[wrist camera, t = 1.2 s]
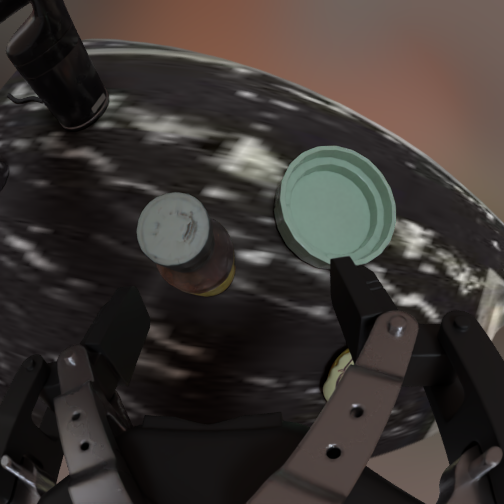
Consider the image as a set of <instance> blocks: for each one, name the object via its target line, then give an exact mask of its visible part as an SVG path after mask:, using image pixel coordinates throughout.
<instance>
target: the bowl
mask: <svg viewBox="0 0 504 504" xmlns="http://www.w3.org/2000/svg"><path fill="white" fill-rule="evenodd" d="M274 213H275V218H276V223H277V228H278V230H279V232H280V234H281V236H282V238H283V240H284V241H285V243H286V245H287V246H288V247H289V248H290V249H291V250H292V251H293V252H294V253H295V254H296V255H297V256H298V257H299V258H300V259H301V260H303V261H305V262H307V263H309V264H311V265H313V266H315V267H317V268H322V269H329V270H330V260H331V259H332V258H338V257H344V256H350V257H351V259H352V260H353V262H354V263H355V265H356V266H358V265H361V264H365V263H367V262H369V261H371V260H372V259H374V258H375V257H377V256H378V255H380V254H381V253H382V251H383V250H384V249H385V247H386V246H387V244H388V243H389V242H390V240H391V237H392V234H393V231H394V228H395V224H396V206H395V202H394V198H393V195H392V191H391V188H390V186H389V185H388V183H387V181H386V179H385V178H384V176H383V175H382V173H381V172H380V171H379V170H378V169H377V168H376V167H375V166H374V165H373V164H372V163H371V162H370V161H369V160H368V159H367V158H365V157H363V156H362V155H360V154H358V153H357V152H355V151H352V150H350V149H346V148H342V147H339V146H319V147H316V148H313V149H311V150H308V151H306V152H303V153H302V154H301V155H299V156H298V157H297V158H296V159H295V160H294V161H293V162H292V163H291V164H290V165H289V167H288V169H287V171H286V173H285V175H284V177H283V179H282V181H281V183H280V185H279V188H278V190H277V192H276V197H275V205H274Z"/></svg>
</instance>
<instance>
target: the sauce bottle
mask: <svg viewBox="0 0 504 504" xmlns="http://www.w3.org/2000/svg"><path fill="white" fill-rule="evenodd" d="M136 231H137V239H138V243H139V245H140V248H141V249H142V251H143V253H144V254H145V255H146V256H147V257H148V258H149V259H150V260H152V261H153V262H155V263H156V265H157V268H158V270H159V272H160V274H161V276H162V277H163V278H164V279H165V280H166V281H167V282H168V283H169V284H170V285H172V286H174V287H175V288H178V289H179V290H181V291H183V292H186V293H190V294H195V295H200V296H205V297H208V296H214V295H217V294H220V293H222V292H223V291H224V290H225V289H227V288H228V287H229V285H230V284H231V282H232V280H233V278H234V274H235V258H234V248H233V243H232V240H231V238H230V236H229V234H228V232H227V231H226V229H225V228H224V227H223V226H222V225H221V224H220V223H219V222H217V221H216V220H214V219H211V218H210V216H209V214H208V212H207V210H206V208H205V207H204V206H203V204H202V203H201V202H200V201H199V200H198V199H196V198H195V197H193V196H191V195H189V194H185V193H179V192H172V193H167V194H164V195H161V196H158V197H157V198H155V199H154V200H152V201H151V202H150V203H149V204H148V205H147V206H146V207H145V208H144V210H143V211H142V213H141V215H140V218H139V220H138V226H137V230H136Z"/></svg>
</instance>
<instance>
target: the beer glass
mask: <svg viewBox="0 0 504 504" xmlns="http://www.w3.org/2000/svg"><path fill="white" fill-rule="evenodd" d="M8 172H9V168H8V165H7V164H6V163H5V162H3V161H0V190H1V189H2V188H3V186H4V184H5V182H6V180H7V177H8Z"/></svg>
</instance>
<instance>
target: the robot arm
mask: <svg viewBox="0 0 504 504" xmlns="http://www.w3.org/2000/svg"><path fill="white" fill-rule="evenodd" d="M29 3H31V4H32V6H33V11H32V13H31V14H30V16H29V17H28V18H27V20H26V21H25V22H24V23H23V24H22V25H21V26H20V28H19V29H18V30H17V31H16V32H15V33H14V35H13V36H12V38H11V40H10V41H9V43H8V45H7V48H6V54H7V56H8V58H9V60H10V61H11V62H12V63H13V65H14V66H15V67H16V69H17V70H18V71H19V73H20V74H21V75H22V77H23V78H24V79H25V80H26V82H27V83H28V84H29V85H30V87H31V88H32V89H33V90H34V92H35V93H36V94H37V95H38V97H35V96H31V97H27V98H23V99H16V98H14V97H13V96H12V95H11V94H10V93H8V95H7V97H8V98H10V99H11V100H12V101H14V102H16V103H22V102H26V101H30V100H34V101H37V102H40V103H44V104H45V105H46V106H47V108H48V109H49V110H50V111H51V112H52V114H53V115H54V116H55V117H56V118H57V120H58V121H59V122H60V124H61V125H62V126H63V128H64V129H66V130H68V131H77V130H81V129H83V128H85V127H87V126H89V125H91V124H92V123H93V122H95V121H96V120H97V119H98V118H99V117H100V116H101V115H102V113H103V112H104V111H105V109H106V107H107V105H108V101H109V94H108V92H107V90H106V88H105V87H104V86H103V84H102V82H101V80H100V77H99V75H98V73H97V72H96V70H95V68H94V66H93V64H92V61H91V59H90V57H89V55H88V53H87V51H86V49H85V47H84V45H83V43H82V41H81V39H80V37H79V35H78V33H77V30H76V29H75V26H74V24H73V22H72V20H71V18H70V15H69V13H68V11H67V8H66V6H65V4H64V1H63V0H0V24H1V23H2V22H3V21H5V20H6V19H7V18H9V17H10V16H11V15H13V14H14V13H16V12H17V11H18V10H20V9H21V8H23V7H24V6H26V5H27V4H29ZM330 284H331V300H332V304H333V308H334V310H335V313H336V316H337V318H338V321H339V324H340V326H341V329H342V332H343V335H344V337H345V340H346V343H347V346H348V348H349V351H350V354H351V357H352V360H353V363H354V365H352V364H350V365H349V366H348V368H347V369H346V371H345V373H344V374H343V376H342V378H341V380H340V381H339V383H338V385H337V387H336V388H335V390H334V392H333V393H332V395H331V397H330V398H329V400H328V401H327V403H326V405H325V406H324V408H323V409H322V411H321V413H320V414H319V416H318V417H317V419H316V420H315V422H314V423H313V425H312V426H311V428H310V427H308V426H305V425H302V424H299V423H293V422H287V421H283V419H282V414H281V412H276V413H267V414H256V415H244V416H241V417H237V418H234V419H230V420H226V421H222V422H218V423H214V424H209V425H206V424H201V423H197V422H193V421H189V420H185V419H181V418H177V417H168V416H150V415H145V417H144V421H143V425H138V426H135V427H133V425H132V423H131V421H130V419H129V416H128V414H127V412H126V410H125V408H124V405H123V403H122V401H121V398H120V396H119V394H118V392H117V391H116V390H115V389H116V387H117V386H129V383H130V380H131V377H132V374H133V371H134V369H135V366H136V363H137V360H138V358H139V355H140V352H141V350H142V347H143V344H144V342H145V339H146V336H147V334H148V331H149V329H150V317H149V314H148V312H147V310H146V307H145V305H144V303H143V301H142V298H141V296H140V294H139V291H138V289H137V288H136V287H135V286H130V287H122V288H118V289H117V290H116V292H115V293H114V295H113V296H112V298H111V300H110V301H109V302H107V303H106V304H105V305H104V306H103V307H102V308H101V310H100V311H99V313H98V315H97V317H96V318H95V320H94V321H93V324H91V326H90V328H89V329H88V331H87V333H86V335H85V336H84V338H83V340H82V341H81V343H80V345H79V344H76V345H72V346H70V347H68V348H66V349H65V350H64V351H63V352H62V353H61V354H60V355H59V357H58V359H57V361H56V362H52V363H48V364H47V363H46V362H45V360H44V359H43V358H42V356H41V355H38V354H36V355H32V356H30V357H29V358H27V359H26V360H25V361H24V362H23V363H22V365H21V367H20V368H19V370H18V372H17V374H16V375H15V377H14V379H13V381H12V383H11V385H10V387H9V389H8V391H7V393H6V394H5V396H4V399H3V401H2V403H1V405H0V504H425V503H424V502H422V501H420V500H418V499H417V498H415V497H413V496H412V495H410V494H408V493H407V492H405V491H403V490H402V489H400V488H399V487H397V486H395V485H394V484H392V483H391V482H389V481H388V480H386V479H384V478H383V477H382V476H380V475H378V474H377V473H375V472H374V471H373V470H371V469H370V468H368V467H367V466H366V464H367V462H368V460H369V458H370V456H371V455H372V453H373V451H374V449H375V447H376V445H377V443H378V440H379V438H380V436H381V434H382V432H383V430H384V428H385V425H386V423H387V421H388V418H389V416H390V414H391V411H392V409H393V406H394V404H395V401H396V399H397V396H398V394H399V391H400V388H401V387H409V386H423V387H424V390H425V392H426V395H427V398H428V400H429V403H430V406H431V408H432V411H433V414H434V417H435V420H436V422H437V425H438V428H439V431H440V434H441V437H442V440H443V444H444V447H445V450H446V454H447V457H448V461H449V464H450V465H449V466H448V467H447V468H446V470H445V471H444V472H443V474H442V476H441V479H440V484H439V488H440V494H439V498H438V501H437V503H436V504H504V361H503V359H502V357H501V356H500V354H499V352H498V351H497V350H496V348H495V346H494V345H493V343H492V341H491V340H490V338H489V337H488V335H487V334H486V333H485V331H484V330H483V328H482V327H481V325H480V324H479V322H478V321H477V320H476V319H475V317H473V316H472V315H471V314H469V313H467V312H464V311H451V312H449V313H447V314H446V315H445V316H444V317H443V319H442V322H441V324H418V323H417V321H416V319H415V318H414V317H413V316H411V315H410V314H408V313H406V312H402V311H399V310H398V309H397V307H396V306H395V304H394V302H393V301H392V299H391V298H390V296H389V295H388V293H387V292H386V290H385V289H384V288H383V286H382V284H381V283H380V282H379V280H378V278H377V277H376V275H375V274H374V272H373V271H371V270H369V269H368V268H366V267H365V266H361V267H356V265H355V263H354V262H353V260H352V259H351V257H350V256H344V257H338V258H332V259H331V260H330ZM38 397H39V398H40V399H41V400H42V401H43V402H44V403H45V404H46V405H47V406H48V407H47V410H46V412H45V415H44V417H43V420H42V422H41V425H40V428H38V427H37V426H36V425H35V424H34V423H33V421H32V418H31V414H32V411H33V408H34V406H35V404H36V401H37V399H38ZM63 455H64V456H65V459H66V463H67V467H68V470H69V475H68V476H67V477H65V478H64V479H63V480H62V481H60V482H59V483H58V484H56V482H57V478H58V474H59V470H60V466H61V463H62V459H63Z"/></svg>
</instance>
